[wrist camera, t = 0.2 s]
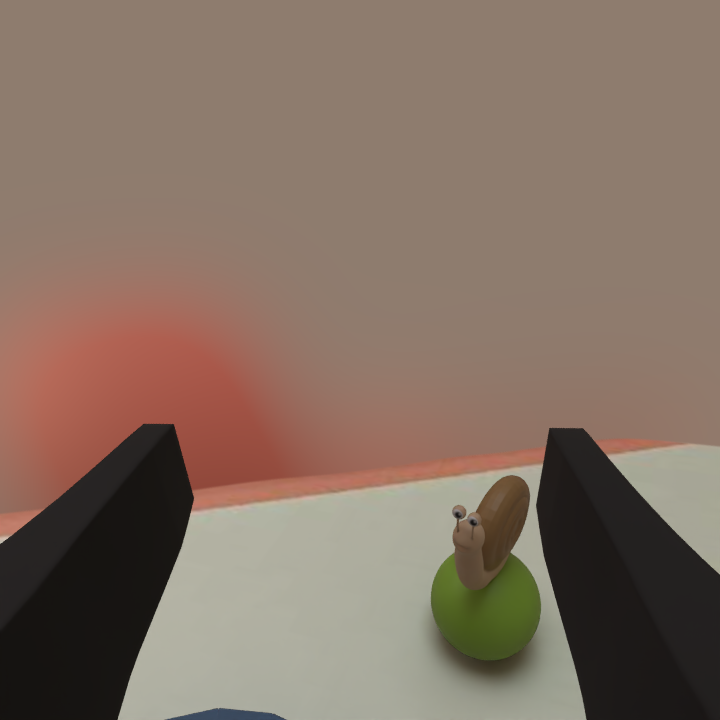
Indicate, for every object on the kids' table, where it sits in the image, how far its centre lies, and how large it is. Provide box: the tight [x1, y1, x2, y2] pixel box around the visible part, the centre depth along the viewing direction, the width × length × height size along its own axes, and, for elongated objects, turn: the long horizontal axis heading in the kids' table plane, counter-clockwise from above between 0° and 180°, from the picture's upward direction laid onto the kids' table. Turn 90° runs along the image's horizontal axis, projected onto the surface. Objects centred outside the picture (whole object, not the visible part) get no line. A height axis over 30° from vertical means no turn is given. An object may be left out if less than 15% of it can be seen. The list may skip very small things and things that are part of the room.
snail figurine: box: [431, 475, 541, 660], centre depth 29 cm, size 5×6×12 cm
